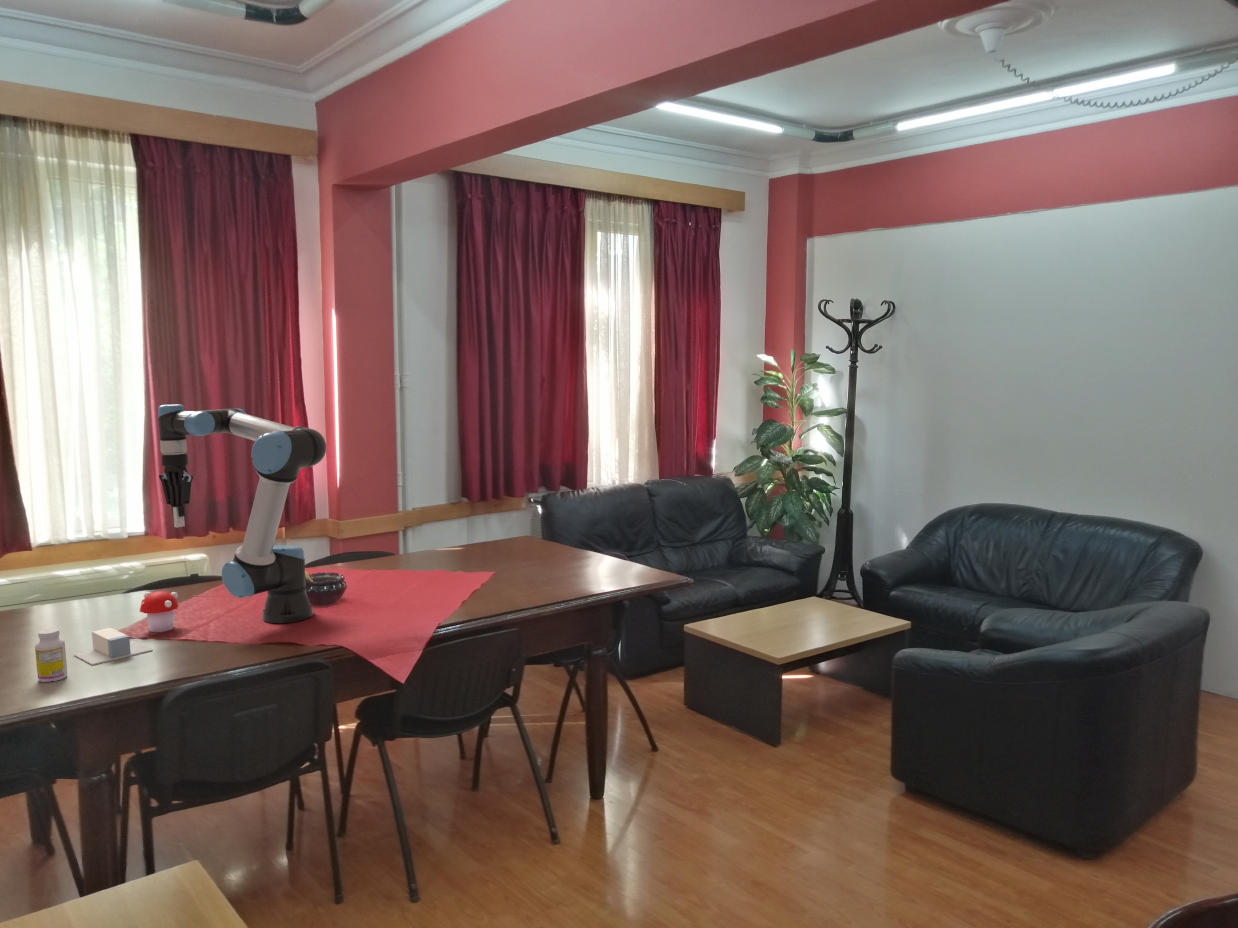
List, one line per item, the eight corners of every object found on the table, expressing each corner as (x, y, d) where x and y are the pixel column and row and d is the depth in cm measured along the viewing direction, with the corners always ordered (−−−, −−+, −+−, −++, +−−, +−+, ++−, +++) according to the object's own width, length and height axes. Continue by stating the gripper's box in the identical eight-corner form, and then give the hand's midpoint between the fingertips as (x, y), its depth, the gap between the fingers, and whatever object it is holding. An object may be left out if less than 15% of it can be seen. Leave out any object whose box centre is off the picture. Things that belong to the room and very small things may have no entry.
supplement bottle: (46, 674, 245) (42, 627, 244) (72, 673, 246) (68, 626, 244) (32, 683, 238) (28, 635, 237) (59, 682, 239) (55, 634, 237)
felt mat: (152, 650, 264) (152, 649, 264) (92, 665, 252) (91, 663, 252) (133, 641, 272) (133, 640, 272) (73, 655, 260) (73, 654, 260)
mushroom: (188, 625, 288) (186, 588, 287) (160, 635, 278) (157, 597, 276) (161, 622, 292) (159, 585, 290) (133, 632, 281) (130, 594, 280)
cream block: (111, 644, 269) (130, 653, 261) (93, 648, 265) (111, 657, 257) (110, 627, 268) (129, 636, 260) (91, 631, 265) (110, 640, 256)
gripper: (198, 452, 294) (203, 525, 297) (170, 451, 300) (175, 523, 303) (178, 455, 288) (184, 530, 290) (149, 453, 293) (155, 527, 296)
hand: (179, 526), depth 296 cm, fingers closed
